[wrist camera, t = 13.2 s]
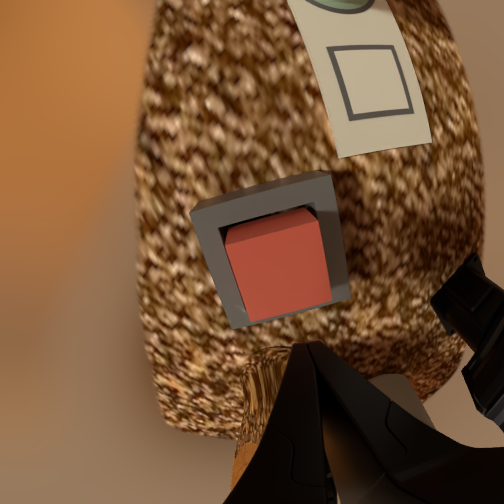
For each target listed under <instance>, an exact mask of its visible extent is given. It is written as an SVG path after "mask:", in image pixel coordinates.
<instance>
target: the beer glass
mask: <svg viewBox="0 0 504 504" xmlns="http://www.w3.org/2000/svg"><path fill="white" fill-rule="evenodd" d="M290 351H291V349H290V348H283V347H274V348H267V349H263V350H260V351H258V352H256V353H254V354H252V355H251V356H249V357H248V358H247V359H246V360H245V361H244V362H243V364H242V365H241V368H240V371H239V378H240V383H241V387H242V391H243V396H244V413H243V418H242V424H241V428H240V432H239V436H238V441H237V445H236V450H235V455H234V461H233V467H232V480H231V491H232V489H233V488H234V486H235V485H236V483H237V482H238V480H239V479H240V477H241V475H242V474H243V472H244V471H245V469H246V467H247V466H248V464H249V462H250V460H251V459H252V457H253V455H254V453H255V451H256V449H257V447H258V445H259V442H260V440H261V438H262V435H263V433H264V430H265V427H266V424H267V423H268V419H269V416H270V414H271V411H272V408H273V405H274V402H275V399H276V396H277V393H278V390H279V387H280V384H281V381H282V377H283V374H284V371H285V368H286V365H287V361H288V358H289V355H290ZM325 459H326V473H327V490H328V501H329V504H341V503H340V500H339V496H338V493H337V489H336V486H335V482H334V479H333V476H332V472H331V469H330V465H329V462H328V459H327V455H326V452H325Z"/></svg>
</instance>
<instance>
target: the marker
mask: <svg viewBox="0 0 504 504" xmlns="http://www.w3.org/2000/svg"><path fill="white" fill-rule="evenodd" d="M332 1H337V2H349V1H353V0H332Z"/></svg>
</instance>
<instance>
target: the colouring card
mask: <svg viewBox="0 0 504 504" xmlns="http://www.w3.org/2000/svg"><path fill="white" fill-rule="evenodd" d="M287 2H288V4H289V6H290V9H291V11H292V13H293V16H294V18H295V21H296V23H297V25H298V28H299V31H300V33H301V36H302V38H303V41H304V44H305V46H306V49H307V52H308V55H309V57H310V60H311V63H312V66H313V69H314V72H315V75H316V78H317V81H318V84H319V88H320V91H321V94H322V97H323V101H324V104H325V108H326V111H327V115H328V119H329V122H330V126H331V130H332V134H333V138H334V142H335V146H336V150H337V154H338V158H343V157H348V156H353V155H358V154H364V153H369V152H375V151H380V150H386V149H392V148H398V147H404V146H411V145H418V144H425V143H432V139H431V134H430V128H429V124H428V119H427V114H426V110H425V106H424V102H423V98H422V94H421V91H420V87H419V84H418V80H417V77H416V74H415V70H414V67H413V64H412V61H411V58H410V56H409V53H408V50H407V47H406V45H405V42H404V40H403V37H402V35H401V32H400V30H399V27H398V25H397V23H396V21H395V18H394V16H393V14H392V12H391V10H390V8H389V6H388V4H387V2H386V0H353V1H349V2H337V1H332V0H287Z"/></svg>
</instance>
